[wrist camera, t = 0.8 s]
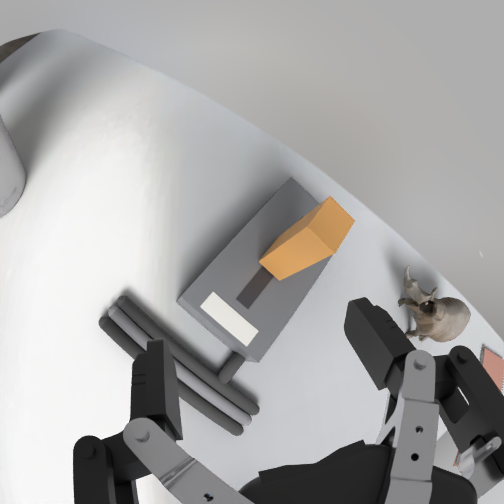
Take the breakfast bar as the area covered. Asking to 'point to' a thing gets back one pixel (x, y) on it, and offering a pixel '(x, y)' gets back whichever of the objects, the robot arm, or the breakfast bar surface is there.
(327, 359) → the breakfast bar surface
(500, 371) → the notebook
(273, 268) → the handle
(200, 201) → the breakfast bar surface
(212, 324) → the breaker box
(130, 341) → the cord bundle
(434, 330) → the rhinoceros figurine
